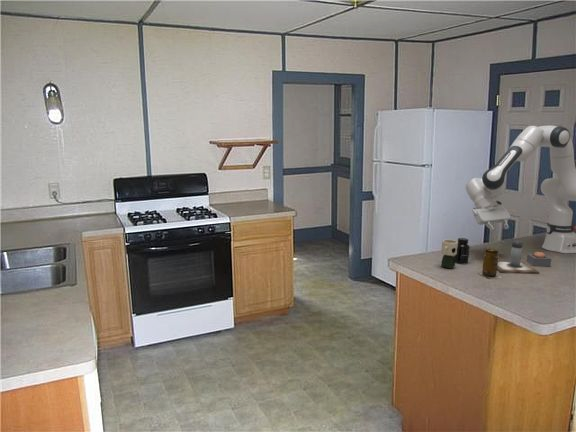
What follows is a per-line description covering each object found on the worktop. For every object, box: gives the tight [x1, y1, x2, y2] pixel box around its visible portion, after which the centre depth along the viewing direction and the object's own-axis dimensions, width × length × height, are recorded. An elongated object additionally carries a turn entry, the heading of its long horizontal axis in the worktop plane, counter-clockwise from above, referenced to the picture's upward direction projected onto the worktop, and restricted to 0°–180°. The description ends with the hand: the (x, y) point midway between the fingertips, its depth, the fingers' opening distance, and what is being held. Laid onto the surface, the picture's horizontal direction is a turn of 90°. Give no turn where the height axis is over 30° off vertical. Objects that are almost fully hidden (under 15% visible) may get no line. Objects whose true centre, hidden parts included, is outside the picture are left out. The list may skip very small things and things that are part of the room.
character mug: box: [440, 238, 458, 269], centre depth 229 cm, size 11×7×13 cm, turn 139°
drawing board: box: [497, 260, 540, 275], centre depth 230 cm, size 18×16×1 cm
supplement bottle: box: [454, 237, 471, 265], centre depth 238 cm, size 7×7×12 cm
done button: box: [533, 251, 545, 258], centre depth 237 cm, size 4×4×3 cm
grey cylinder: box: [509, 239, 524, 267], centre depth 229 cm, size 5×5×12 cm
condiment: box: [478, 248, 504, 279], centre depth 218 cm, size 7×8×12 cm
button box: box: [525, 253, 552, 268], centre depth 237 cm, size 8×8×4 cm
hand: (500, 229), depth 236 cm, fingers open, 8 cm apart
